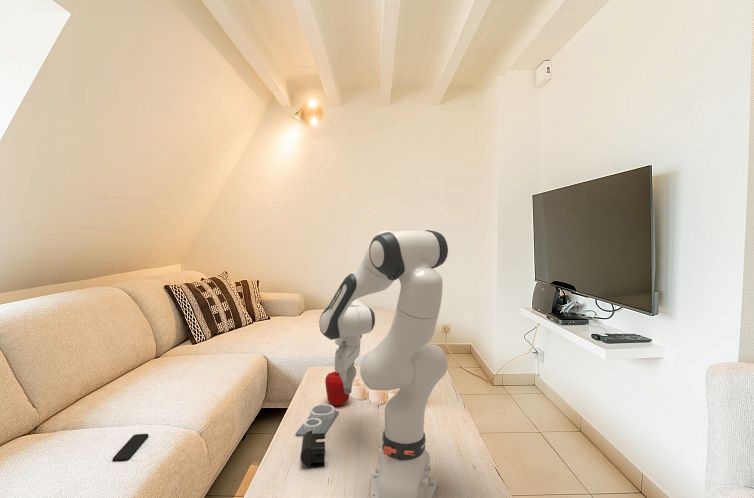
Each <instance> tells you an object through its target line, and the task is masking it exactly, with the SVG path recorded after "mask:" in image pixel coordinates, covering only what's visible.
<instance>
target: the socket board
mask: <svg viewBox="0 0 754 498" xmlns="http://www.w3.org/2000/svg"><path fill="white" fill-rule="evenodd" d="M338 415H339V410H336V409H335V406H333V405H332V404H330V403H329V404H328V403H321V404H316V405H313V406H311V408H310V409H309V416H308V417H307V418H306V419H305V420H304V421H303V423H302V425H301V426H300V427H299V429H297V431H296V433H295V437H298V436H303V437H304V435H305V434H306V433H307V432H309V431H312V434H318V433H325V435H326V434H327V433H328V431H329V429H330V428H331V426H332V424H333V423H334V421H335V420H336V418H337V417H338ZM329 427H330V428H329ZM303 437H302V438H303Z"/></svg>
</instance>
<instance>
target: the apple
mask: <svg viewBox="0 0 754 498" xmlns="http://www.w3.org/2000/svg"><path fill="white" fill-rule="evenodd" d="M324 383H325V391H326V392H325V393H326V398H327V402H329V404H330V405H332V406H333V407H339V406H342V405H344V404H345V403H346V402H348V401H349V399H350V394H349V395H347V394H346V393H344V387H343V381H342V379H341V377H340V375H339V372H336V371H335V370H334V371H332V372H329V373H328V374H327V375H326V377H325V382H324Z"/></svg>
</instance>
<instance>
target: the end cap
mask: <svg viewBox="0 0 754 498" xmlns="http://www.w3.org/2000/svg"><path fill="white" fill-rule="evenodd" d="M324 439H326V434H325V433H318V434H312V431H309V432H307V433H306V434H305V435H304V437H302V444H301V450H300V462H301V463H302V464H303V465H304V466H306V467H307V468H309V469H316V468H317V469H318V468H319V469H320V468H325V464H326V463H325V462H326V461H325V458H326V441H318V440H324Z"/></svg>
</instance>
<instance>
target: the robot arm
mask: <svg viewBox="0 0 754 498" xmlns="http://www.w3.org/2000/svg"><path fill="white" fill-rule="evenodd" d="M448 255H449V246H448V242H447V240H446V237H444V235H443V234H442V233H441V232H438V231H435V230H429V229H426V230H411V229H404V230H398V231H397V230H396V231H394V230H390V229H389V230H387V229H386V230H382V231H380V232H378V233H377V234H376V235H375V236H374V237H373V238H372V240H371V242H370V244H369V246H368V248H367V250H366V252H365V255H364V257H363V259H362V261H361V262H360V264H358V266H357V267H356V269H354V271H352V272H351V273H349V274H347V276H346V277H345V278H344V279H343V281H341V283H340V285H339V287H338V289H337V290H336V292H335V294H334V296H333V297H332V299H331V301H330V303H329V304H328V306H327V307H326V308H325V309H324V310H323V311H322V313H321V314H320V317H319V320H318V321H319V322H318V323H319V324H318V325H319V331H320V332H321V334H322V335H323V336H324V337H325V338H327V339H329V340H330V341H332V340H334V341H335V343H334V344H335V345H337V346H338V347H337V349H336V350H335V353H334V354H335V355H334V372H335V371H336V372H339V373H341V375H342V380H343V381H347V379H348V375H347V371H348V368H349V367H350V366H351V365H353V366H354V367H355V361H356V360H357V359H358V357H359V356H360V352H361V339H362V338H363V337H362V336H363V335H366V334H369V333H371V332H372V331H373V329H374V327H375V325H376V314H375V311H374V310H373V309H372V308H371V307H369V306H368V305H366V304H364V303H363V302H362V301H361V299H360V298H362V297H365V296H369V295H371V294H372V295H373V294H376V293H380V292H383V291H385V290H387V289H388V288H390V286H391V285H392V284H393V283H394V281H397V280H399V283H400V289H399V290H400V291H399V295H398V300H397V305H396V310H395V313H394V317H393V321H392V324H391V327H390V329H389V331H388V332H387V333H386V335H385V337H384V338H383V339H382V341H381V342H380V343H379V344H378V345H377V346H376V347H375V348H374V349H372V350H371V351H369V352H368V353H366V354H365V355H364V357H363V358H362V359H361V360H362V361H361V363H360V368H359V369H360V370H359V373H360V377H361V379H362V382H363V384H364V385H365V386H366V387H367V388H368V389H369V390H372V391H391V390H392V391H393V390H398V391H396V393H395V394H394V395H393V396H392V397H391V398H390V399H389V400H388V401H387V403H386V404H385V408H384V430H383V432H382V439H381V440H382V441H381V442H382V443H381V444H382V445H381V447H380V448H378V467H376V468H375V470H374V471H373V472H372V473H371V475H370V486H369V487H370V490H369V494H370V495H369V498H433V497H434V494H435V492H436V491H437V488H438V482H437V480H436V479H434V478H432V477H431V476H432V475H431V474H432V473H431V454H430V453H429V452H428V451H427V449H426V443H427V442H426V441H427V440H426V433H425V431H424V430H425V417H426V416H425V412H426V407H427V405H428V404H427V403H428V401H429V398H430V396H431V393H432V392H433V389H434V388H435V387H436V385H437V384H438V383H439V381H440V380H441V379H443V377H445V375H446V373H447V370H448V365H449V363H448V358H447V355H446V353H445V351H444V350H443V348H442V347H440V346H439V345H437V344H430V343H429V342H430V341H431V340H432V338H433V337H434V333H435V330H436V326H437V323H438V318H439V314H440V310H441V305H442V300H443V299H442V298H443V288H444V287H443V284H444V283H443V277H442V275H441V274H440V272H438V271H437V270H436V268H438V267H441V265H443V264H444V263H445V262H446V261H447V258H448Z"/></svg>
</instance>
